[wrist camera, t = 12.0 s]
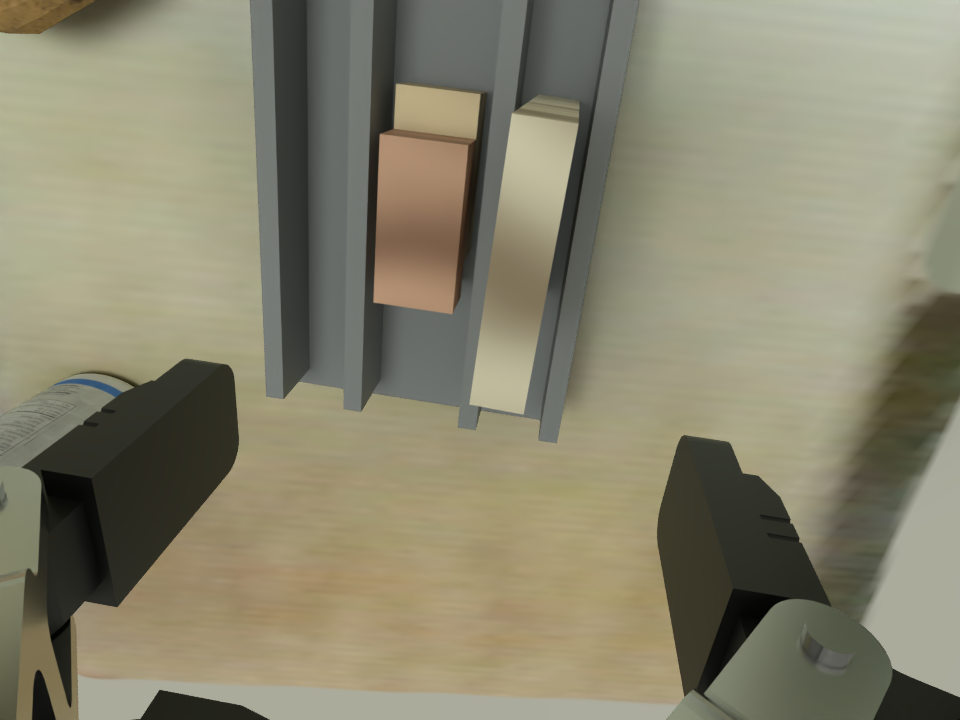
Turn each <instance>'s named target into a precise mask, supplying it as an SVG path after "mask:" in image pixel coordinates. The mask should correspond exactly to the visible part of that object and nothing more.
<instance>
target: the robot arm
mask: <svg viewBox="0 0 960 720" xmlns="http://www.w3.org/2000/svg"><path fill="white" fill-rule="evenodd" d="M238 445H239V434H238V421H237V408H236V394H235V381H234V374H233V371H232V369H231V368H230V367H229V366H228V365H226V364H219V363H212V362H206V361H199V360H193V359H184V360H182V361H180V362H179V363H178V364H176V365H175V366H174V367H172V368H171V369H170V370H169V371H167V372H166V373H165V374H163V375H162V376H161V377H159V378H158V379H157V380H156V381H149V382H147V383H144V384H142V385H140V386H137V387H135V388H132V389H130V390H127V391H125V392H122V393H121V394H120V395H118V396H117V397H116V398H114V399H113V400H111V401H110V402H109V403H107V404H106V405H105V406H103V407H102V408H101V411H100V412H98V411H97V412H95V413H94V414H93V415H91V416H90V417H89V418H87V419H86V420H85V421H84V423H83V425H78V426H76V427H75V428H74V429H72V430H71V431H70V432H68V433H67V434H66V435H64V436H63V437H62V438H60V439H59V440H58V441H56V442H55V443H54V444H52V445H51V446H49V447H48V448H47V449H45V450H44V451H43V452H41V453H40V454H39V455H37V456H36V457H35V458H33V459H32V460H31V461H29V462H28V463H27V464H25V465H24V466H23V467H21V468H20V467H11V466H0V720H79V719H78V678H77V638H76V624H75V620H74V616H73V614H74V612H75V611H76V610H77V609H78V608H79V607H80V606H81V605H82V604H83V602H84V601H87V602H92V603H97V604H103V605H108V606H114V607H118V606H119V604H120V603H121V602H122V601H123V600H124V598H125V597H126V596H127V595H128V594H129V592H130V591H131V590H132V589H133V588H134V586H135V585H136V584H137V583H138V581H139V580H140V579H141V578H142V577H143V575H144V574H145V573H146V572H147V571H148V569H149V568H150V567H151V566H152V565H153V563H154V562H155V561H156V560H157V559H158V557H159V556H160V555H161V554H162V553H163V551H164V550H165V549H166V548H167V547H168V545H169V544H170V543H171V542H172V541H173V539H174V538H175V537H176V536H177V534H178V533H179V532H180V531H181V530H182V528H183V527H184V526H185V525H186V524H187V522H188V521H189V520H190V519H191V518H192V516H193V515H194V514H195V513H196V512H197V510H198V509H199V508H200V507H201V506H202V504H203V503H204V502H205V501H206V500H207V498H208V497H209V496H210V495H211V494H212V492H213V491H214V490H215V489H216V488H217V486H218V485H219V484H220V483H221V481H222V480H223V479H224V478H225V477H226V475H227V474H228V473H229V472H230V470H231V468H232V466H233V464H234V462H235V459H236V456H237V451H238ZM790 520H791V519H790V517H789V515H788V513H787V511H786V509H785V507H784V504H783V502H782V500H781V498H780V497H779V496H778V495H777V494H776V493H775V492H774V491H773V490H772V489H771V488H770V487H769V486H768V485H767V484H766V483H765V482H764V481H763V480H762V479H761V478H760V477H759V476H756V475H750V474H743V473H742V471H741V468H740V466H739V463H738V461H737V459H736V456H735V454H734V451H733V449H732V446H731V444H730V443H729V442H726V441H719V440H713V439H706V438H700V437H693V436H686V435H684V436H682V437H681V439H680V441H679V443H678V446H677V449H676V453H675V456H674V460H673V463H672V467H671V471H670V474H669V478H668V482H667V485H666V489H665V492H664V496H663V500H662V503H661V507H660V512H659V517H658V527H657V541H658V549H659V554H660V560H661V566H662V571H663V577H664V583H665V589H666V594H667V600H668V606H669V611H670V617H671V623H672V629H673V634H674V640H675V646H676V651H677V657H678V663H679V669H680V674H681V680H682V686H683V691H684V699H683V700H682V701H681V702H680V703H679V705H678V706H677V707H676V708H675V709H674V711H673V712H672V713H671V714H670V716H669V717H668V718H667V719H666V720H960V697H957V696H955V695H953V694H950V693H948V692H945V691H943V690H940V689H938V688H936V687H933V686H931V685H928V684H926V683H923V682H921V681H919V680H916V679H914V678H911V677H909V676H907V675H904V674H902V673H900V672H898V671H896V670H894V669H893V668H892V666H891V662H890V659H889V657H888V655H887V653H886V651H885V650H884V648H883V647H882V646H881V644H880V643H879V641H878V640H877V639H876V638H875V637H874V636H873V635H872V634H871V633H870V632H869V631H868V630H867V629H866V628H865V627H864V626H862V625H861V624H860V623H858V622H857V621H856V620H854V619H853V618H851V617H850V616H848V615H846V614H845V613H843V612H841V611H839V610H837V609H835V608H832V606H831V604H830V602H829V600H828V598H827V595H826V593H825V591H824V589H823V587H822V585H821V583H820V581H819V579H818V576H817V574H816V572H815V570H814V568H813V566H812V564H811V562H810V560H809V557H808V555H807V553H806V551H805V549H804V547H803V545H802V543H799V536H798V534H797V532H796V530H795V528H794V526H793V524H790ZM136 720H269V719H267V718H265V717H263V716H261V715H259V714H257V713H255V712H253V711H251V710H249V709H247V708H246V707H243V706H241V705H236V704H231V703H225V702H220V701H214V700H210V699H205V698H199V697H194V696H189V695H184V694H179V693H173V692H168V691H163V690H159V692H158V693H157V695H156V696H155V698H154V699H153V701H152V702H151V704H150V705H149V707H148V708H147V710H146V711H145V713H144V714H143V716H142V717H141V719H136Z"/></svg>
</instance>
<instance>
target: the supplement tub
mask: <svg viewBox="0 0 960 720" xmlns="http://www.w3.org/2000/svg"><path fill="white" fill-rule="evenodd" d="M132 388H135V387H133V386H131V385H130V384H128V383H126V382H124V381H121V380H119V379H116V378H114V377H110V376H107V375H101V374H79V375H74V376H71V377H68V378H66V379H64V380H62V381H60V382H59V383H57V384H55V385H53V386H52V387H50V388H48V389H46V390H45V391H43V392H41V393H39V394H38V395H36V396H34V397H33V398H31V399H29V400H28V401H26V402H24V403H22V404H21V405H19V406H17V407H16V408H14V409H12V410H11V411H9V412H7V413H5V414H4V415H2V416H0V466H11V467H20V468H21V467H23V466H24V465H25V464H27V463H28V462H29V461H31V460H32V459H33V458H35V457H36V456H37V455H39V454H40V453H41V452H43V451H44V450H45V449H47V448H48V447H49V446H51V445H52V444H54V443H55V442H56V441H58V440H59V439H60V438H62V437H63V436H64V435H66V434H67V433H68V432H70V431H71V430H72V429H74V428H75V427H76V426H78V425H83V423H84V421H85V420H86V419H87V418H89V417H90V416H91V415H93V414H94V413H95V412H97V411H98V412H100V411H101V408H102V407H103V406H105V405H106V404H107V403H109V402H110V401H111V400H113V399H114V398H116V397H117V396H118V395H120V394H121V393H122V392H125V391H127V390H130V389H132Z"/></svg>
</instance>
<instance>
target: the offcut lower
mask: <svg viewBox="0 0 960 720" xmlns="http://www.w3.org/2000/svg"><path fill="white" fill-rule="evenodd" d="M486 98H487V92H483V91H475V90H467V89H458V88H450V87H442V86H434V85H426V84H418V83H409V82H407V83H398V84H396V94H395V115H394V129H399V130H407V131H414V132H422V133H430V134H438V135H446V136H453V137H461V138H469V139H476V145H475V156H474V166H473V176H472V186H471V196H470V206H469V216H468V226H467V236H466V246H465V257H464V260H465V258H466V257H467V255H468V253H469V251H470V249H471V244H472V234H473V224H474V215H475V205H476V195H477V185H478V176H479V166H480V156H481V146H482V137H483V127H484V117H485V108H486Z"/></svg>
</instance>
